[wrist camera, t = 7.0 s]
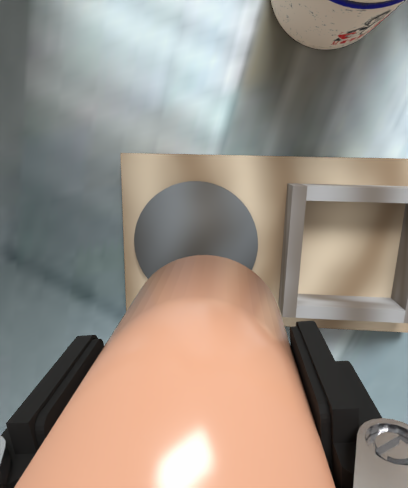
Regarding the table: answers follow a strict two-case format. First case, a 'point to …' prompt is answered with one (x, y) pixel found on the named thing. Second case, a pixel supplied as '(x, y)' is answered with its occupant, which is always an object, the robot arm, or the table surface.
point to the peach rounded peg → (189, 394)
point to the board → (278, 229)
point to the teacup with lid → (331, 20)
